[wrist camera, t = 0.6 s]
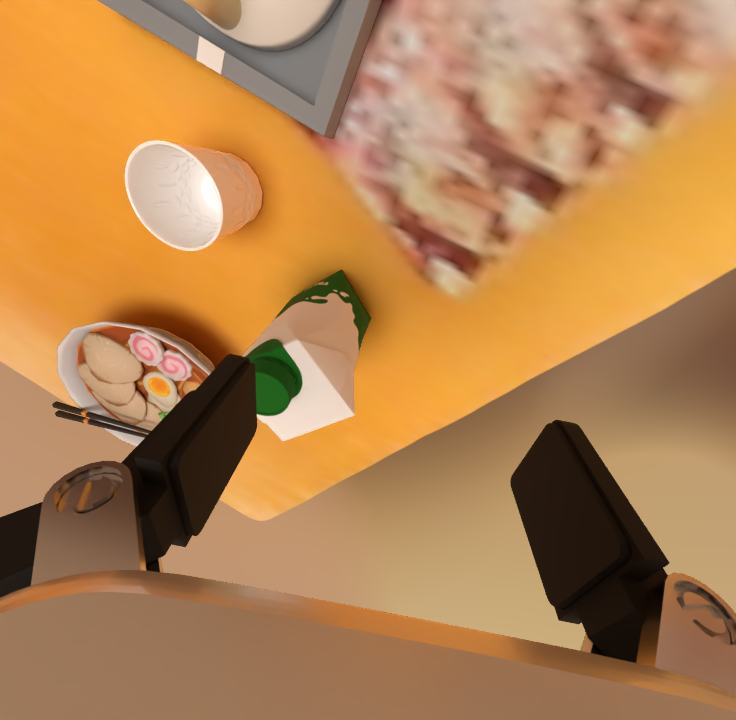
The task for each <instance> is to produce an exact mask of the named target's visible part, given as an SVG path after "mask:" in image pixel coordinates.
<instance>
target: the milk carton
mask: <svg viewBox="0 0 736 720" xmlns="http://www.w3.org/2000/svg"><path fill="white" fill-rule="evenodd" d="M370 320H371V318H370V316H369V314H368V313H367V311H366V310H365V308H364V306H363V305H362V303H361V301H360V300H359V298H358V296H357V295H356V293H355V291H354V290H353V288H352V286H351V285H350V283H349V281H348V280H347V278H346V276H345V275H344V273H343V271H342V270H340V271H339V272H337V273H335V274H333V275H331V276H330V277H328V278H326V279H324V280H322V281H320V282H319V283H317V284H315V285H313V286H311V287H309V288H308V289H306V290H304V291H302V292H301V293H299V294H297V295H296V296H294V297H293V298H292V299H291V300H290V301H289V302H288V303H287V304H286V306H285V307H284V308H283V309H282V310H281V312H280V313H279V314H278V315H277V316H276V318H275V319H274V320H273V321H272V322H271V324H270V325H269V326H268V327H267V328H266V330H265V331H264V332H263V333H262V334H261V336H260V337H259V338H258V339H257V340H256V341H255V342H254V343H253V344H252V346H251V347H250V348H249V349H248V350H247V351H246V352H245V353H244V354H243V355H242V356H243V357H248V358H249V359H250V363H254V364H255V375H256V407H257V417H258V418H259V420H260V421H261V422H263V423H266V424H267V425H268V426H269V427H270V428H271V429H272V430H273V431H274V433H275V434H276V435H277V436H278V437H279V438H280V439H281V440H282V441H286V440H289V439H291V438H294V437H297V436H300V435H302V434H305V433H308V432H311V431H313V430H316V429H319V428H322V427H324V426H327V425H330V424H333V423H335V422H338V421H341V420H344V419H346V418H349V417H352V416H354V415H355V411H354V371H355V367H356V363H357V359H358V355H359V351H360V347H361V343H362V339H363V337H364V335H365V332H366V330H367V327H368V325H369V322H370Z"/></svg>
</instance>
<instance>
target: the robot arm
mask: <svg viewBox="0 0 736 720" xmlns="http://www.w3.org/2000/svg"><path fill="white" fill-rule="evenodd" d="M256 428H257V407H256V375H255V364H254V363H250V359H249V358H248V357H243V356H238V355H233V354H229V355H227V356H226V357H225V358H224V360H223V361H222V362H221V363H220V364H219V365H218V366H217V367H216V368H215V369H214V370H213V371H212V373H211V374H210V375H209V376H208V377H207V378H206V379H205V380H204V381H203V382H202V383H201V385H200V386H199V387H198V388H197V389H196V390H192V391H190V392H188V393H187V394H186V395H185V396H184V397H183V398H182V399H181V400H180V401H179V402H178V403H177V404H176V406H175V407H174V408H173V409H172V410H171V411H170V412H169V413H168V414H167V415H166V416H165V417H164V418H163V419H162V420H161V421H160V422H159V424H158V425H157V426H156V427H155V428H154V429H153V430H152V431H151V432H150V433H149V434H148V435H147V436H146V437H145V438H144V439H143V440H142V442H141V443H140V444H139V445H138V446H137V447H136V448H135V449H134V450H133V451H132V452H131V453H130V454H129V455H128V457H126V459H125V460H124V461H123V462H122V463H119V462H116V461H100V462H95V463H90V464H87V465H84V466H82V467H79V468H77V469H75V470H73V471H72V472H70V473H68V474H66V475H64V476H63V477H62V478H61V479H60V480H58V481H57V482H56V483H55V484H53V486H52V487H51V488H50V489H49V491H48V492H47V493H46V495H45V497H44V500H43V502H41V503H39V504H36V505H33V506H30V507H27V508H25V509H22V510H19V511H16V512H14V513H11V514H8V515H6V516H3V517H0V720H736V613H735V612H734V611H733V610H732V608H731V607H730V606H729V605H728V604H727V603H726V602H725V601H724V600H723V599H722V598H721V597H720V596H719V595H718V594H716V593H715V592H714V591H713V590H711V589H710V588H709V587H708V586H706V585H705V584H703V583H701V582H700V581H698V580H696V579H695V578H693V577H690V576H687V575H685V574H681V573H672V574H670V575H667V574H666V572H665V571H664V569H663V567H665V566H666V565H668V564H669V561H668V560H667V558H666V557H665V555H664V554H663V552H662V551H661V549H660V548H659V546H658V545H657V543H656V542H655V540H654V539H653V537H652V536H651V534H650V533H649V531H648V530H647V528H646V526H645V525H644V523H643V522H642V521H641V519H640V517H639V516H638V515H637V513H636V511H635V510H634V509H633V507H632V505H631V504H630V503H629V501H628V499H627V498H626V496H625V495H624V493H623V492H622V490H621V489H620V487H619V486H618V484H617V483H616V481H615V479H614V478H613V476H612V475H611V473H610V472H609V470H608V469H607V467H606V466H605V464H604V463H603V461H602V460H601V458H600V457H599V455H598V454H597V452H596V451H595V449H594V448H593V446H592V445H591V443H590V442H589V440H588V439H587V437H586V436H585V434H584V432H583V431H582V429H581V428H580V427H579V426H578V425H577V424H575V423H570V422H565V421H561V420H555V421H553V422H552V423H549V424H547V425H546V426H545V428H544V429H543V431H542V432H541V434H540V435H539V436H538V438H537V439H536V441H535V442H534V444H533V445H532V447H531V448H530V450H529V451H528V453H527V454H526V456H525V457H524V459H523V460H522V462H521V463H520V464H519V466H518V467H517V469H516V470H515V472H514V473H513V475H512V477H511V488H512V491H513V494H514V497H515V500H516V503H517V507H518V509H519V513H520V516H521V519H522V522H523V525H524V528H525V531H526V534H527V537H528V540H529V543H530V546H531V550H532V553H533V556H534V559H535V562H536V565H537V568H538V571H539V574H540V577H541V580H542V583H543V586H544V589H545V592H546V595H547V598H548V600H549V602H550V604H551V605H553V606H554V607H555V610H556V613H557V616H558V619H559V620H560V621H565V622H570V623H575V624H580V623H581V622H582V624H583V626H584V629H585V632H586V634H585V637H584V640H583V644H582V647H581V650H580V651H578V650H573V649H568V648H563V647H558V646H553V645H548V644H544V643H539V642H533V641H529V640H524V639H519V638H513V637H509V636H504V635H498V634H493V633H488V632H484V631H478V630H473V629H468V628H463V627H458V626H453V625H448V624H443V623H437V622H432V621H428V620H422V619H417V618H412V617H407V616H402V615H397V614H392V613H386V612H381V611H376V610H371V609H366V608H361V607H356V606H350V605H345V604H340V603H334V602H329V601H324V600H319V599H313V598H308V597H303V596H298V595H293V594H287V593H282V592H277V591H271V590H266V589H261V588H256V587H250V586H245V585H239V584H233V583H227V582H221V581H215V580H209V579H203V578H197V577H192V576H186V575H179V574H170V573H163V568H162V560H161V557H162V556H164V555H165V554H166V552H167V551H168V549H169V547H170V546H171V544H172V545H177V546H182V547H186V545H187V544H188V542H189V540H190V538H191V536H192V535H194V536H197V535H198V534H199V533H200V532H201V530H202V529H203V527H204V525H205V523H206V521H207V520H208V518H209V516H210V514H211V512H212V511H213V509H214V507H215V505H216V503H217V502H218V500H219V498H220V496H221V494H222V493H223V491H224V489H225V487H226V485H227V484H228V482H229V480H230V478H231V476H232V475H233V473H234V471H235V469H236V467H237V465H238V464H239V462H240V460H241V458H242V456H243V455H244V453H245V451H246V449H247V447H248V446H249V444H250V442H251V440H252V438H253V437H254V435H255V432H256Z"/></svg>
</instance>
